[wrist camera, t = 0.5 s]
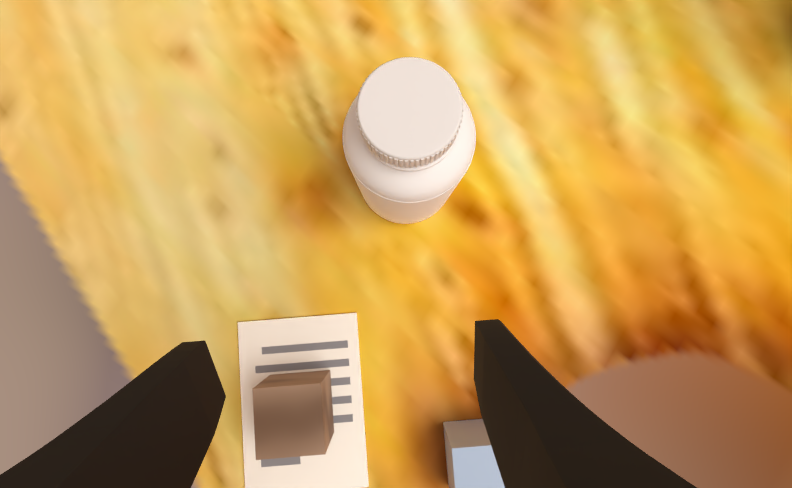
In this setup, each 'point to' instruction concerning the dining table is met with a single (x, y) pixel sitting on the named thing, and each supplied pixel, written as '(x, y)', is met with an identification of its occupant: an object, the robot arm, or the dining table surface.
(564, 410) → the robot arm
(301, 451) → the walnut block
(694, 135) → the dining table surface
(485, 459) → the slate cube
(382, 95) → the pill bottle
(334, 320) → the letter
